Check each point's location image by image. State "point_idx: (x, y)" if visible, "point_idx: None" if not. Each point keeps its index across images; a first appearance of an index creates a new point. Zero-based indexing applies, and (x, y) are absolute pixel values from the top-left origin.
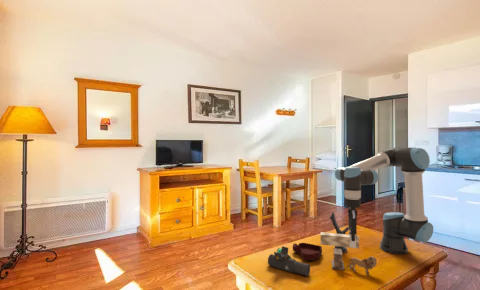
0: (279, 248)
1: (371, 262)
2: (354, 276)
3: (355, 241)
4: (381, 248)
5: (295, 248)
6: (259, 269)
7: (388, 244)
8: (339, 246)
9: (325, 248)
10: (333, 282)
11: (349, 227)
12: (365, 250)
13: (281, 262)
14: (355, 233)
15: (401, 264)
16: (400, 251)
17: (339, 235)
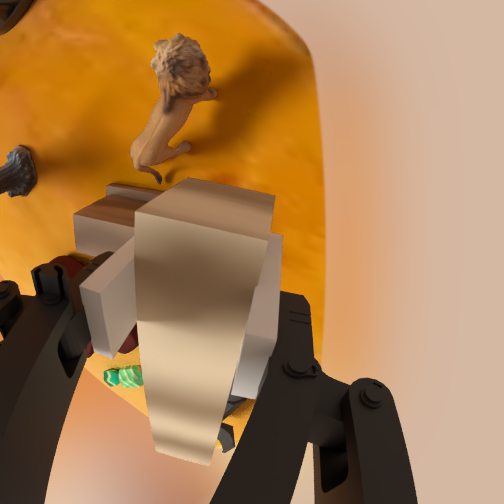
0: (109, 383)
1: (200, 67)
2: (236, 163)
3: (280, 273)
4: (8, 28)
5: (93, 352)
6: (233, 425)
7: (6, 4)
8: (14, 182)
9: (24, 225)
10: (301, 272)
11: (77, 380)
12: (12, 78)
13: (227, 415)
14: (382, 405)
15: None
16: None
17: (194, 404)
